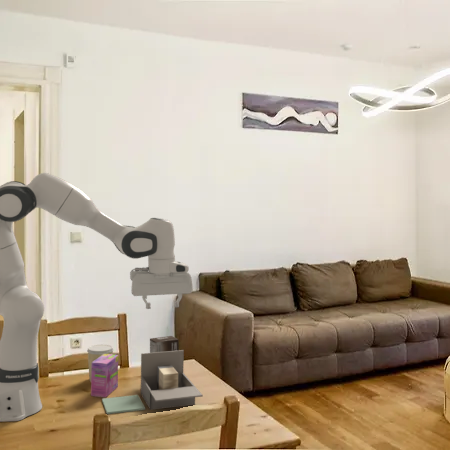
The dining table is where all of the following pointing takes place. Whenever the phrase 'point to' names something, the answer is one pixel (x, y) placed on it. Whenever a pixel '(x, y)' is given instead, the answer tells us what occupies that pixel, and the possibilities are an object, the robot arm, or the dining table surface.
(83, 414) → the dining table surface
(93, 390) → the box
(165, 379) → the capped box
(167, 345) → the coffee box
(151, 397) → the carton
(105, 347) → the coffee cup
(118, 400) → the mat
